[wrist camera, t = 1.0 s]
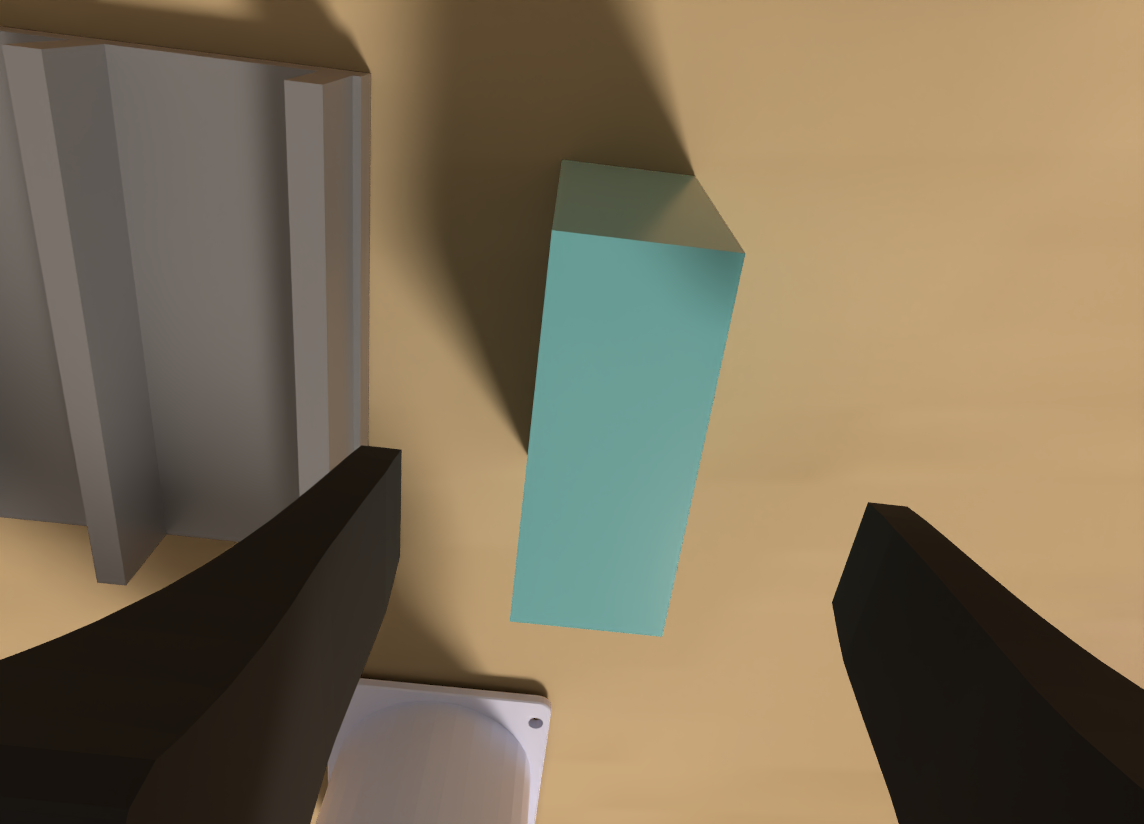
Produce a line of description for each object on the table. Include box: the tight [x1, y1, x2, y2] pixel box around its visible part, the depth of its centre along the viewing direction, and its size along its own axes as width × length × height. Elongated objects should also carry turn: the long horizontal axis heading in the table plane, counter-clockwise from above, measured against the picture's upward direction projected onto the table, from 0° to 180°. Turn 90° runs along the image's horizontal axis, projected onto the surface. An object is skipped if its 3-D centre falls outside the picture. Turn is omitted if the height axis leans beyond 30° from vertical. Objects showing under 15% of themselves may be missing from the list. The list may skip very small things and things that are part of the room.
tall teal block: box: [510, 160, 745, 637], centre depth 20 cm, size 9×4×8 cm, turn 173°
